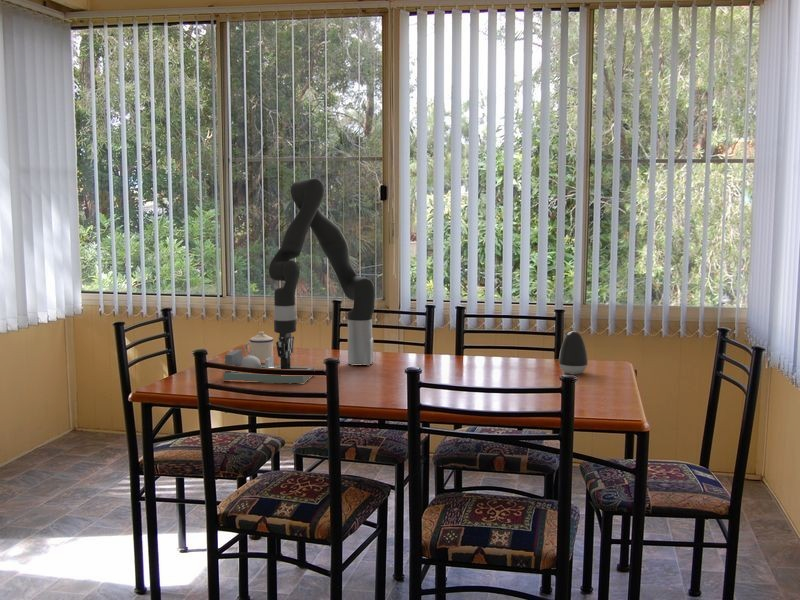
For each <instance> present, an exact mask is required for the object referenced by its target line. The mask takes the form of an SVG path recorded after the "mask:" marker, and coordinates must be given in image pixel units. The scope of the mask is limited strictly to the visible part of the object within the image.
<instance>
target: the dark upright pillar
mask: <svg viewBox="0 0 800 600" xmlns="http://www.w3.org/2000/svg"><path fill="white" fill-rule="evenodd" d="M285 349H286V348H285ZM282 354H283V352H282ZM287 356H288V357H287V369H290V367H291V366H290V360H291V356H290V346H289V351H288V355H287ZM274 362H275V359H274V356H273V357H269V358H267V359H265V363H264V366H265V368H278V367H274V366H275V365H274Z"/></svg>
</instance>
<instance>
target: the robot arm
mask: <svg viewBox="0 0 800 600" xmlns="http://www.w3.org/2000/svg"><path fill="white" fill-rule="evenodd" d="M325 193H326V189H325V185H324V183H323V181H322V180H320V179H319V178H317V177H310V178H307V179H302V180H297V181H294V182H293V183H292V185H291V187H290V196H291V198H292V201H293V202H294V204H295V205H296V207H297V209H298V210H299V211H298V212H297V214H296V216H295V217H294V218H293V220H292V221H291V222H290V224H289V226H288V227H287V229H286V231H285V233H284V236H283V239H282V242H281V246H280V247H279V249H278V251H277V252H276V254H275V255H274V257H272V260H271V261H270V263H269V266H268V275H269V277H270V279H271V280H274V281H280V282H284V285H283V287H278V288H275V290H274V294H273V295H274V299H273V302H274V305H273V306H274V309H273V329H274V333H276V334H278V335H279V336H278V339H277V341H276V343H275V344H276V350H277V358H280V366H281V369H287V357H288V356H287V355H288V351H289V346H290V357H291V356H292V354H293V352H294V341H295V337H294V336H292V333H295V332H297V309H296V290H297V285H298V281H299V277H300V271H301V270H300V267H299V264H298V263H297V262H296V261H294V260H292V259H296V258H298V257H299V256H300V255H301V252H302V249H303V246H304V243H305V239H306V236H307V233H308V231H309V228H310V229H311V230H312V232H313V234H314V235H315V237H316V240H317V241H318V243H319V245H320V247H321V249H322V252H324V255H325V256H326V258H327V260H328V261H329V263H330V265H331V267H332V269H333V271H334V272H335V274H336V277H337V279H338V282H339V284H340V287H341V289H342V292H343V294H344V296H346V298H347V299H349V300H351V301H353V307H352V309H351V310H349V311H348V312H347V364H348V363H349V364H362V365H363V364H371V363H372V362H373V363H374V338H373V314H374V311H375V299H376V298H375V297H376V289H375V284H374V282H373V280H371V278H369V277H365V276H359V275H358V274H357V272H356V271H355V269H354V267H353V266H352V263H351V259H350V249H349V247H350V246H349V243H348V241H347V240H346V237H345V236H344V234H343V232H342V230H341V229H340V227H339V226H338V225H337V224H335V223H334V222H333V221H332V220H331V219H330V218H328V217H327V216H326V215H325V214H324V213H322V211H321V210H320V209H319V208H320V207H321V204H322V202H323V200H324V198H325ZM285 348H286V349H285ZM282 352H283V354H282ZM373 363H372V364H373ZM349 364H348V365H349ZM290 367H292V366H291V359H290Z"/></svg>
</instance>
